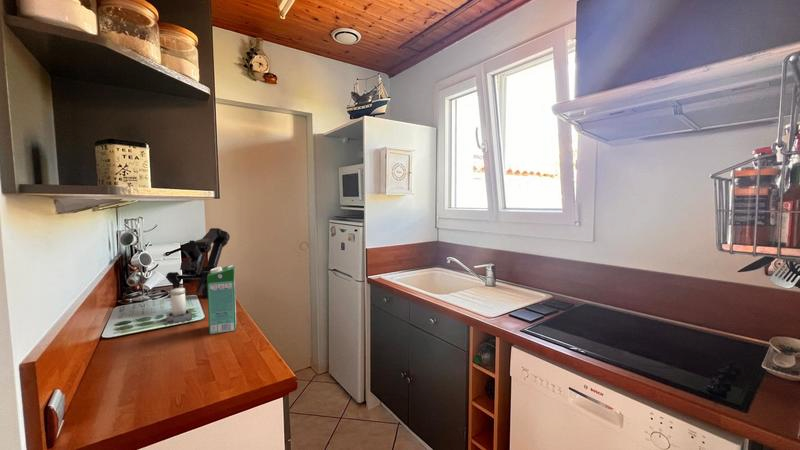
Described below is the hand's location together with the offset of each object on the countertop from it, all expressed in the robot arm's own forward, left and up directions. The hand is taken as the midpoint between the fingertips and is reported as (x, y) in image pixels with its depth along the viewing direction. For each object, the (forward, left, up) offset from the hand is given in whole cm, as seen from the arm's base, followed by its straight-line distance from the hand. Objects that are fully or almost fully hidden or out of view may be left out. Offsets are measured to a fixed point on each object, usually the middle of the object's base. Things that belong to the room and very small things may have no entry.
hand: (185, 293), depth 145 cm
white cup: (+3, +6, -8) cm, 11 cm away
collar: (+3, +6, -9) cm, 11 cm away
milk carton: (-12, +26, -9) cm, 30 cm away
